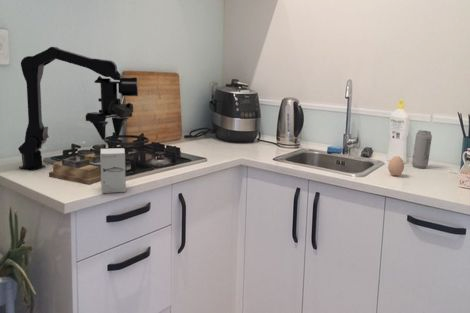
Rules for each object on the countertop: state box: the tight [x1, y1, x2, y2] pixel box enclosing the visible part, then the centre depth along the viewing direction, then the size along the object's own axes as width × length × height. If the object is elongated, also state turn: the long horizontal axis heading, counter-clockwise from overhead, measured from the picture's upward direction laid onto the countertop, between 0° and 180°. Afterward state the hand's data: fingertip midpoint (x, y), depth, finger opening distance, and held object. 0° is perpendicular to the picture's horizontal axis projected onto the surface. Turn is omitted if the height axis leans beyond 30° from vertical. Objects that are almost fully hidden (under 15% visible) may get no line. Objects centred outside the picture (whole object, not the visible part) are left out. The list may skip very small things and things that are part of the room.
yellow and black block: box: [84, 144, 105, 162], centre depth 149 cm, size 4×6×5 cm, turn 155°
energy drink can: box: [411, 129, 433, 169], centre depth 172 cm, size 6×6×15 cm
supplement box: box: [100, 147, 127, 194], centre depth 130 cm, size 7×7×13 cm
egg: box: [387, 155, 405, 177], centre depth 159 cm, size 6×6×8 cm
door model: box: [48, 150, 101, 185], centre depth 146 cm, size 18×16×6 cm
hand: (110, 138), depth 155 cm, fingers open, 7 cm apart
